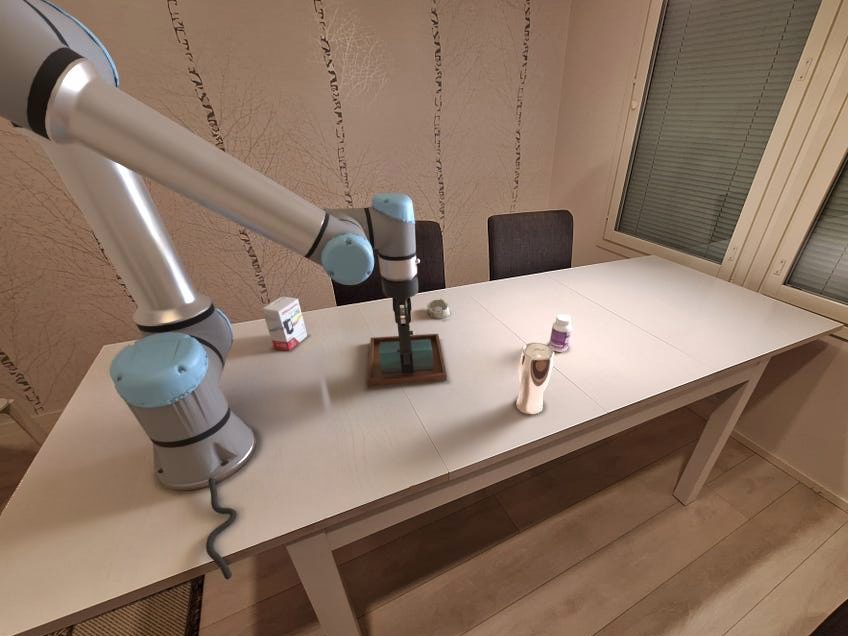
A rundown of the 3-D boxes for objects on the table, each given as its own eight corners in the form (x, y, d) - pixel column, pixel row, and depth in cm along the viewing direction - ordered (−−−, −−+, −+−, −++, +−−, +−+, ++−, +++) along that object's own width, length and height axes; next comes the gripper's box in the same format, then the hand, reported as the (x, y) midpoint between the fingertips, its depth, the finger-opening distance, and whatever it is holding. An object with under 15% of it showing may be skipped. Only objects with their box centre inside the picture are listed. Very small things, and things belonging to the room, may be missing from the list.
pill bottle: (567, 353, 104) (573, 323, 98) (548, 350, 104) (553, 320, 99) (567, 343, 108) (573, 314, 103) (549, 341, 109) (554, 312, 103)
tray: (446, 382, 90) (446, 374, 89) (368, 388, 87) (366, 380, 86) (438, 340, 106) (438, 333, 105) (371, 344, 103) (370, 337, 101)
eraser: (432, 370, 89) (432, 349, 86) (381, 374, 87) (379, 353, 84) (431, 359, 93) (430, 339, 90) (382, 363, 91) (379, 342, 88)
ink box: (289, 351, 98) (277, 311, 92) (273, 348, 99) (260, 309, 92) (308, 335, 105) (298, 297, 99) (292, 333, 106) (282, 295, 99)
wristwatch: (454, 318, 118) (454, 303, 115) (436, 322, 115) (436, 308, 112) (440, 306, 124) (439, 293, 121) (423, 310, 121) (422, 296, 118)
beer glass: (536, 420, 81) (546, 364, 72) (508, 407, 84) (515, 352, 75) (549, 403, 86) (560, 348, 77) (522, 391, 89) (530, 338, 80)
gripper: (420, 291, 70) (425, 387, 84) (415, 259, 85) (420, 345, 98) (379, 293, 69) (391, 390, 82) (381, 260, 83) (391, 347, 97)
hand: (407, 365), depth 90 cm, fingers closed on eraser, 5 cm apart
